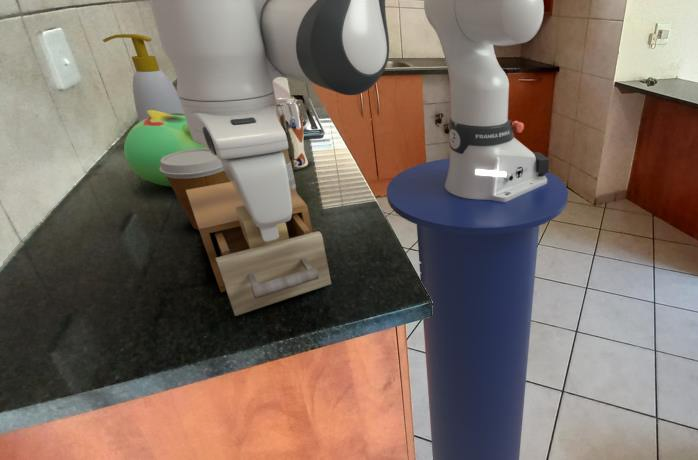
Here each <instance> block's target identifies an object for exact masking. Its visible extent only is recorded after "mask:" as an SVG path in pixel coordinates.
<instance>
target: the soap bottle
mask: <svg viewBox="0 0 698 460" xmlns="http://www.w3.org/2000/svg"><path fill="white" fill-rule="evenodd" d="M124 38H125V39H130V38H131V41H132V44H133V47H134V50H135V53H136V55H134V56H131V60H132V63H133V65H134V68H135V71H134V74H133V79H132V94H133V99H134V105H135V110H136V114H137V115H136V116H137V120H138V123H139V122H141V121H143V120H145V119H147V118H149V117H150V116H149V114H148V113H147V111H148V110H155V111H160V112H163V113H167V114H173V113H181V114H184V112H183V109H182V106H181V102H180V99H179V96H178V93H177V88H176V87H175V86H174V84H173V83H172V81H171V79H169V77H168V76H167V75H166V74H165V72H163V71H162V70H161V69H160V67H159V64H158V60H157V58H156V55H149V52H148V50H147V47H146V44H145V42H147V43H150V42H151V41H152V37H149V36H147V35H142V34H138V33H137V34H136V33H119V34H117V33H116V34H114V35H110V36H108V37H105V38H103V39H102V41H103V43H107V42H109V41H111V40H114V39H124Z"/></svg>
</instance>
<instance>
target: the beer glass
mask: <svg viewBox="0 0 698 460" xmlns="http://www.w3.org/2000/svg"><path fill="white" fill-rule="evenodd" d="M276 103H277V107H278V112H279V116H280V120H281V125H282V127H283V128H284V131H285V133H286V136H287V141H288V149H287V150H288V154H289V158H290V161H291V165H292V170H293V171H298V170H299V171H300V170H302V169H305V168H307V167H309V165H310V164H309V160H308V158H307V155H306V152H305V145H304V144H305V143H304V139H305V138H304V137H305V136H304V135H305V134H304V132H305V131H304V122H303V115H302V111H301V108H300V105H299V100H298V99H297V98H292V97H291V98H276Z"/></svg>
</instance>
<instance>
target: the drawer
mask: <svg viewBox="0 0 698 460" xmlns="http://www.w3.org/2000/svg"><path fill="white" fill-rule="evenodd" d="M285 223H286V227H287V231H288V235H289V239H286V240H282V241H278V242H274V243H271V244H267V245H263V246H259V247H255V248H251V249H250V248H249V246H248V244H247V242H246V240H245V238H244V235H243V232H242V228H241V226H239V227H234V228H230V229H226V230H221V231H217V232H213V234H214V237H215V240H216V243H217V246H218V249H219V252H220V255H221V256H220V257H216V258H215V259H216V262H217V265H218V268H219V271H220V274H221V277H222V280H223V282H224V285H225V288H226V291H225V292H226V294H227V297H228V300H229V303H230V306H231V308H232V312H233V314H234V317H238V316H240V315H244V314H246V313H249V312H253V311H255V310H258V309H261V308H264V307H267V306H270V305H273V304H276V303H279V302H282V301H286V300H288V299H291V298H295V297H297V296H300V295H303V294H306V293H309V292H312V291H315V290H318V289H321V288H323V287H327V286H330V285H332V280H331V275H330V269H329V264H328V259H327V254H326V250H325V249H326V248H325V244H324V238H323V234H322V233H321V231H319V230H317V231H314V232H313V231H312V232H313V233H310V230H309V229H308V227H307V226H306V225H305V223H304V222H303V221H302V220H301V218H300V217H299V216H298V214H297V213H295V214H292V217H291V219H290V220H289V221H287V222H285Z"/></svg>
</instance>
